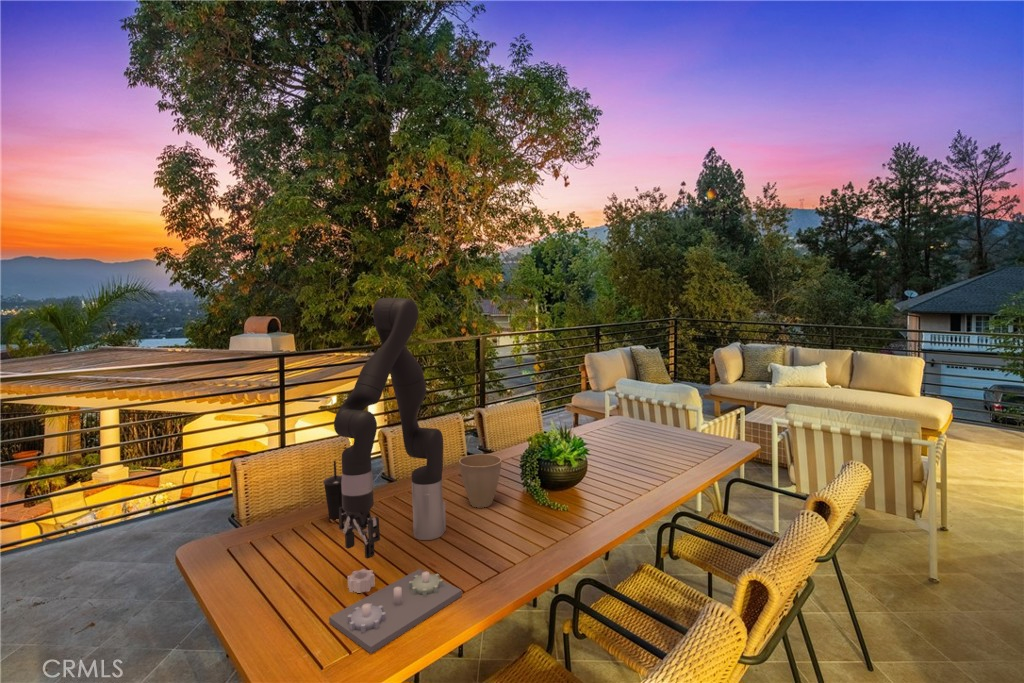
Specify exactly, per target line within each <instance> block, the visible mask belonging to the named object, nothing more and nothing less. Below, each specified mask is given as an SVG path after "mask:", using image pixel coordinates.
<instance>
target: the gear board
mask: <svg viewBox="0 0 1024 683" xmlns="http://www.w3.org/2000/svg"><path fill="white" fill-rule="evenodd" d="M461 597H463V590H462V589H460V588H458V587H456V586H454V585H452V584H450V583H449V582H446V581H444V580H443V578H440V574H439V573H435V574H433V573H430V572H429V571H427V570H426V571H425V570H422V569H421V568H418V569H416V570H415V571H412V572H410V573H409V574H407V575H404V576H403V577H402V578H399V579H397V580H396V581H393V582H392V583H390V584H388V585H386V586H384V587H382V588H380V589H379V590H376V591H375V592H372V593H371V594H369V595H367V596H366V597H364V598H362V599H360V600H358V601H356V602H354V603H352V604H351V605H349V606H347V607H345V608H342V609H341V610H339V611H338V612H336V613H334V614H332V615H330V616H328V621H329V622H328V623H329V625H331V626H333V628H335V629H336V628H337V629H336V630H338V631H339V632H341V633H342V634H343V635H344V636H346V637H347V638H348V639H350V640H351V641H353V642H354V643H356V644H357V645H358V646H359V647H361V648H362V649H364V650H365V651H366V652H368V653H369V654H371V655H372V654H374V653H375V652H376V651H378V650H380V649H382V648H383V647H384V646H386V645H387V644H389V643H391V642H392V641H394V640H395V639H397V638H398V637H400V636H402V635H403V634H406V632H408V631H409V630H411V629H412V628H414V627H415V626H417V625H419V624H421V623H422V622H424V621H425V620H427V619H428V618H430V617H432V616H433V615H435V614H436V613H438V612H440V611H441V610H442V609H444V608H446V607H448V606H449V605H450V604H452V603H454V602H455V601H457V600H458V599H460V598H461ZM373 652H374V653H373Z"/></svg>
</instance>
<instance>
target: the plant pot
mask: <svg viewBox="0 0 1024 683" xmlns="http://www.w3.org/2000/svg"><path fill="white" fill-rule="evenodd" d="M502 461H503V460H502V458H501V457H500V456H498V455H494V454H487V453H481V454H480V453H478V454H470V455H466V456H463V457H461V458H460V459H459V461H458V463H459V467H460V468H459V469H460V474H461V479H462V483H463V487H464V490H465V493H466V496H467V498H468V501H469V504H470V506H471V505H472V506H471V507H473V508H476V507H477V508H478V509H485V508H488V507H490V506H491V505H492V504H493V501H494V498H495V495H496V492H497V488H498V485H499V484H498V483H499V479H500V473H501V468H502ZM484 507H485V508H484Z"/></svg>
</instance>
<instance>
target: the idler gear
mask: <svg viewBox="0 0 1024 683" xmlns="http://www.w3.org/2000/svg"><path fill="white" fill-rule="evenodd" d="M375 580H376V579H375V573H374V571H373V569H369V570H368V569H366V568H361V569H360V570H354V571H352V573H351V574H350V575H347V589H348V588H349V589H348V592H349V593H350V592H352V593H355V592H357V593H361V594H362V593H366V592H367V593H368V592H370V591H371V588H374V587H375V586H376V584H375ZM353 591H354V592H353ZM357 593H356V594H357Z"/></svg>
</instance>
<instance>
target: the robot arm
mask: <svg viewBox="0 0 1024 683" xmlns="http://www.w3.org/2000/svg"><path fill="white" fill-rule="evenodd" d="M372 310H373V311H372V315H373V318H372V319H373V322H374V325H375V329H376V332H377V334H378V337H379V340H380V343H381V346H380V347H379V348H378V349H377V350H376V351H375V352H374V353H373V354H372V355H371V356H370V357H369V358H368V359H367V361H366V362H365V363H364V365H363V366H362V368H361V370H360V372H359V374H358V377H357V380H356V382H355V385H354V387H353V389H352V391H351V393H350V394H349V395H348V396H347V398H346V399H345V400H344V402H343V403H342V404H341V405H340V407H339V409H338V411H337V412H336V415H335V417H334V422H333V428H334V431H335V434H337V435H338V436H340V437H342V438H349V439H353V445H352V446H350V447H347V448H345V449H344V450H343V451H342V453H341V476H342V481H341V486H342V507H339V523H338V527H339V528H338V529H339V530H342V533H343V535H344V539H345V540H344V543H345V545H344V546H345V548H346V549H351V548H353V547H355V530H356V531H357V532H358V534H359V536H360V537H362V539H363V542H364V558H366V559H367V560H368V559H370V558H373V557H374V556H375V543H377V542H379V541H381V532H380V521H379V520H380V519H379V517H378V516H374V517H373V516H371V512H370V511H371V509H372V508H373V506H374V478H373V477H374V476H373V474H372V472H373V470H372V452H373V448H374V442H375V440H376V434H377V430H378V423H377V418H376V417H375V415H374V414H373V413H372V412H371V411H368V410H365V409H366V408H368V407H369V406H373V405H376V404H378V403H379V402H380V400H381V397H382V396H383V393H384V389H385V386H386V384H387V382H388V378H389V377H390V378H391V383H392V388H393V392H394V395H395V400H396V404H397V408H398V411H399V413H398V414H399V418H400V423H401V425H400V426H401V431H402V440H403V444H404V450H405V452H406V454H407V455H408V457H410V458H412V459H413V458H415V459H424V460H426V464H425V465H422V466H420V467H417V468H415V469H414V470H412V472H411V494H412V495H411V496H412V497H411V498H412V500H411V502H412V527H413V532H412V533H413V537H414V538H415V539H417V540H420V541H432V540H436V539H438V538H441V537H442V536H443V535H444V532H446V531H447V519H446V518H447V517H446V516H447V514H446V501H445V500H443V499H444V498H443V494H444V493H443V469H444V436H443V432H442V431H441V430H440V429H439V428H433V427H432V428H431V427H430V428H429V427H420V426H419V423H418V412H419V409H420V408H421V406H422V403H423V401H424V399H425V396H426V394H427V384H426V380H425V376H424V371H423V368H422V367H421V365H420V363H419V362H418V361H417V359H416V358H415V356H414V355H413V354H412V353H411V351H410V350H409V349H408V348H407V346H406V344H407V343H408V341H409V339H410V337H411V335H412V333H413V331H414V330H415V328H416V326H417V324H418V320H419V309H418V305H417V304H416V301H414V300H412V299H410V298H404V297H403V298H402V297H399V298H398V297H396V298H394V297H383V298H382V297H381V298H380V299H377V301H375V303H374V305H373V309H372ZM344 521H345V522H344Z"/></svg>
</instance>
